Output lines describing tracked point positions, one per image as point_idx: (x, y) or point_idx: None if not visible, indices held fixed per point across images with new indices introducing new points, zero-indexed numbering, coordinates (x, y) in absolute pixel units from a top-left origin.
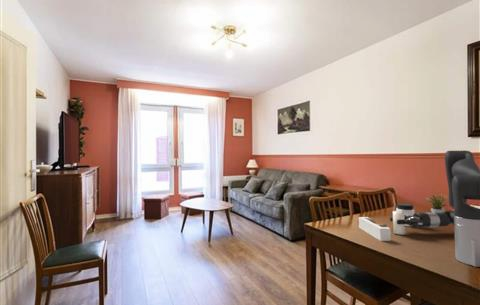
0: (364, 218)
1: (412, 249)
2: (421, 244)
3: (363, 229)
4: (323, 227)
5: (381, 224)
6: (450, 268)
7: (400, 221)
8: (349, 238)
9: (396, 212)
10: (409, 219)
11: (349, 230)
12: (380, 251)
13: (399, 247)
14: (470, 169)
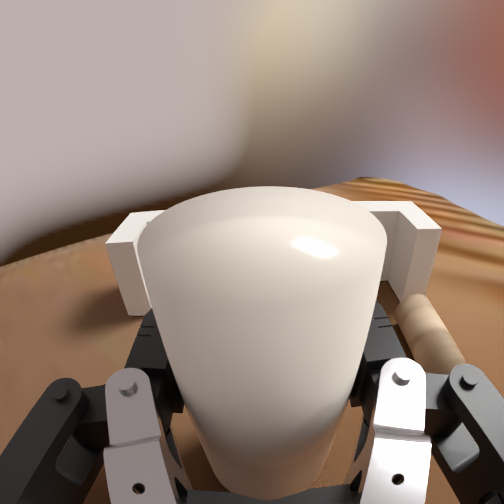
0: (385, 210)
1: (10, 331)
2: (11, 421)
3: None
4: (355, 191)
5: (438, 345)
6: None
7: (147, 316)
8: None
9: (229, 201)
10: (117, 445)
11: None
12: (69, 246)
13: (50, 303)
14: None
